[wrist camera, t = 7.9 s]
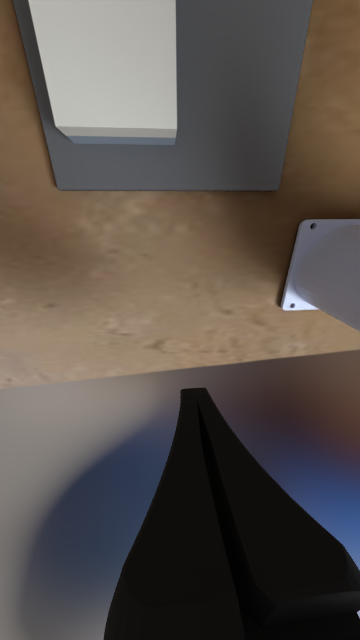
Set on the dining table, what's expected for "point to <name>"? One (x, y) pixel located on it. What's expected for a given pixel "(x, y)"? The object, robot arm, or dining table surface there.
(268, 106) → the mat
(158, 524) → the robot arm
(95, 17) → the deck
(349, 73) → the dining table surface
